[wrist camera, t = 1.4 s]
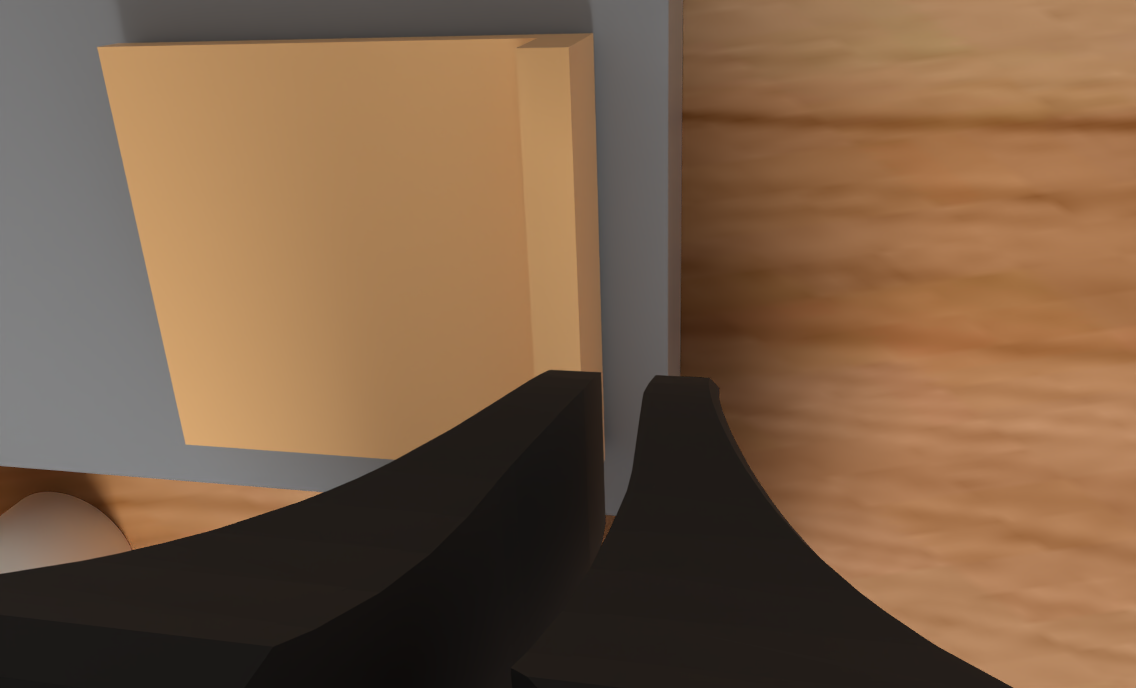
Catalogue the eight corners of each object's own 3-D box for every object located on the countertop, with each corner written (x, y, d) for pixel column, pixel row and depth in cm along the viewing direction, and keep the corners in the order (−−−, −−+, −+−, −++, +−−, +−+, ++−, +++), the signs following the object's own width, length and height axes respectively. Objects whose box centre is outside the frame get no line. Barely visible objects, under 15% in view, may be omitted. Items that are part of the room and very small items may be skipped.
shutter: (593, 33, 16) (568, 47, 14) (605, 458, 19) (586, 514, 17) (118, 43, 18) (42, 56, 16) (201, 431, 21) (146, 479, 19)
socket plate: (683, -71, 17) (668, -70, 15) (679, 458, 22) (667, 519, 20) (-179, -34, 21) (-292, -30, 19) (-37, 409, 26) (-115, 456, 23)
